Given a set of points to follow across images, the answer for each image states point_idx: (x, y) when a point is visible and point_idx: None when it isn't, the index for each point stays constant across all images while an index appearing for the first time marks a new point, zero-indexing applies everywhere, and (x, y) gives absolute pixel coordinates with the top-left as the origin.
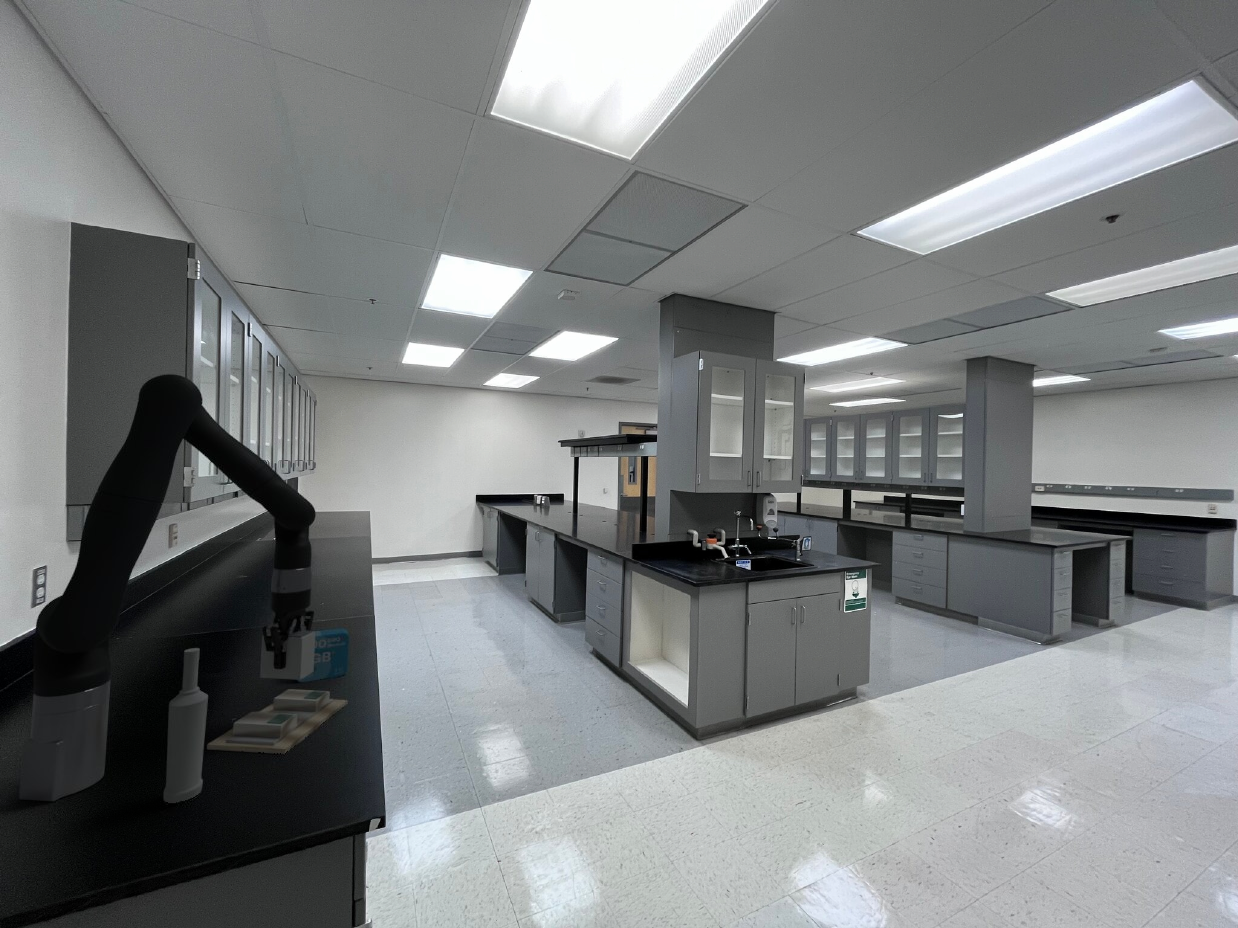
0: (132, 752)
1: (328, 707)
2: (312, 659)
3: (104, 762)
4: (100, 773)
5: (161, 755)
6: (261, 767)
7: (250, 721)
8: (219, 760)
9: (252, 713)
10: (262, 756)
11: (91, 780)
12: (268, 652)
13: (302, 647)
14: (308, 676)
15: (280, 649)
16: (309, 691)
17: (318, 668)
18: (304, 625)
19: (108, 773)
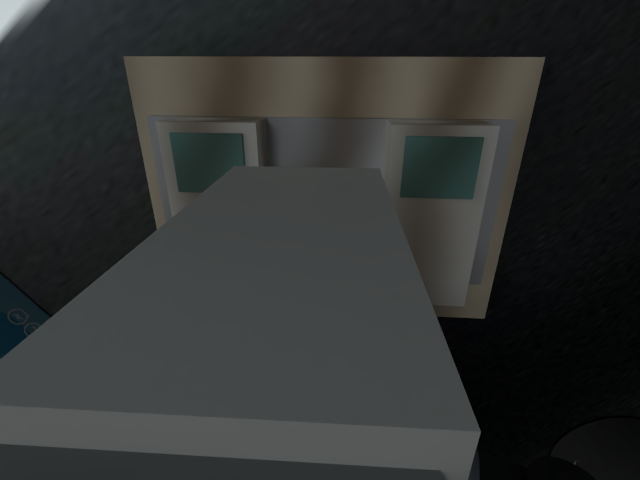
0: (481, 436)
1: (204, 101)
2: (224, 194)
3: (604, 450)
4: (614, 430)
5: (501, 381)
6: (620, 83)
7: (455, 262)
8: (548, 241)
9: None
10: (541, 129)
11: (636, 427)
12: None
13: (414, 288)
14: (25, 315)
15: (530, 474)
16: (181, 209)
17: None
18: None
19: (572, 421)
